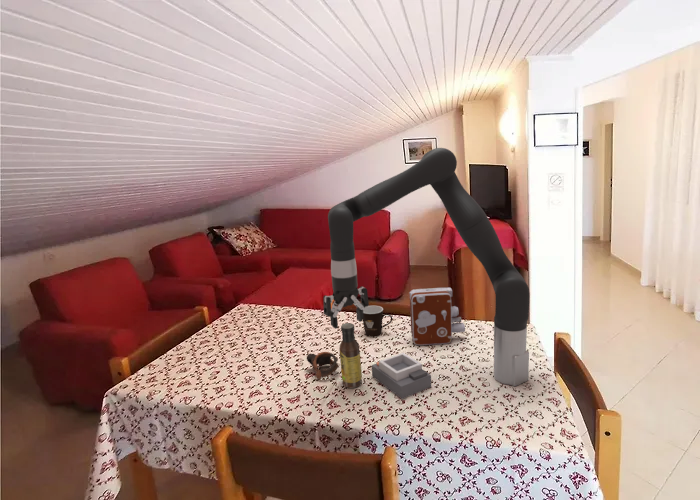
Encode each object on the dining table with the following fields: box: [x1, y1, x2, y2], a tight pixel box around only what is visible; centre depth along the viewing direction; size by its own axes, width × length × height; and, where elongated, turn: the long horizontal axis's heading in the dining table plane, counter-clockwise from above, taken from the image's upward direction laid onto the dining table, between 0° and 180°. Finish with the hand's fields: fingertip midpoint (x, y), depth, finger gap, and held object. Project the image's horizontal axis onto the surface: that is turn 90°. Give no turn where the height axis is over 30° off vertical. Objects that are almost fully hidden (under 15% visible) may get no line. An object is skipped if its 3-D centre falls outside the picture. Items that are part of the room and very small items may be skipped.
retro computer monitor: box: [371, 352, 432, 400], centre depth 140 cm, size 16×11×6 cm
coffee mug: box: [362, 305, 393, 338], centre depth 174 cm, size 12×9×10 cm
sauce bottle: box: [338, 322, 363, 389], centre depth 139 cm, size 6×6×20 cm
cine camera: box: [409, 287, 466, 346], centre depth 164 cm, size 9×19×20 cm, turn 89°
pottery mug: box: [306, 351, 340, 380], centre depth 149 cm, size 12×10×8 cm
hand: (347, 324), depth 137 cm, fingers open, 8 cm apart
